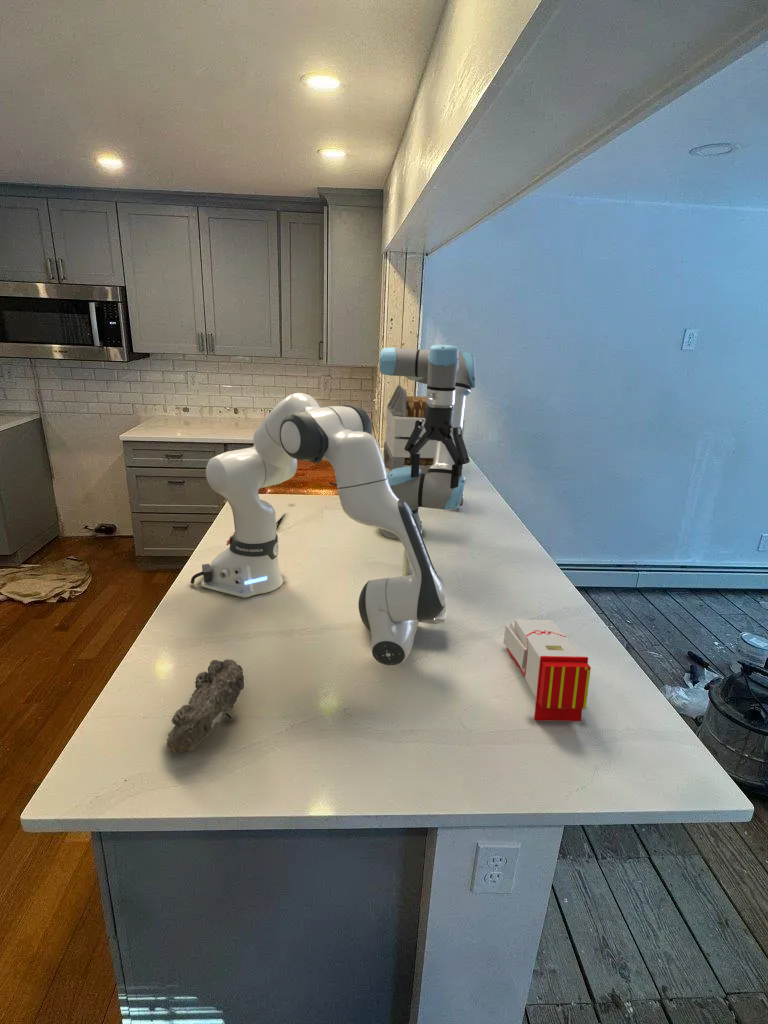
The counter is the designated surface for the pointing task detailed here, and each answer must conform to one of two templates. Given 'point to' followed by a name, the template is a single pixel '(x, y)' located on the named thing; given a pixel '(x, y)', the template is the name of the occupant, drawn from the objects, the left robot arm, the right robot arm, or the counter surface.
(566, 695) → the toy
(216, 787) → the counter surface
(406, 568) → the bottle
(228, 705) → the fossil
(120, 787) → the counter surface
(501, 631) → the counter surface
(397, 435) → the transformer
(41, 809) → the counter surface
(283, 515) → the feather
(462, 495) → the figurine character
